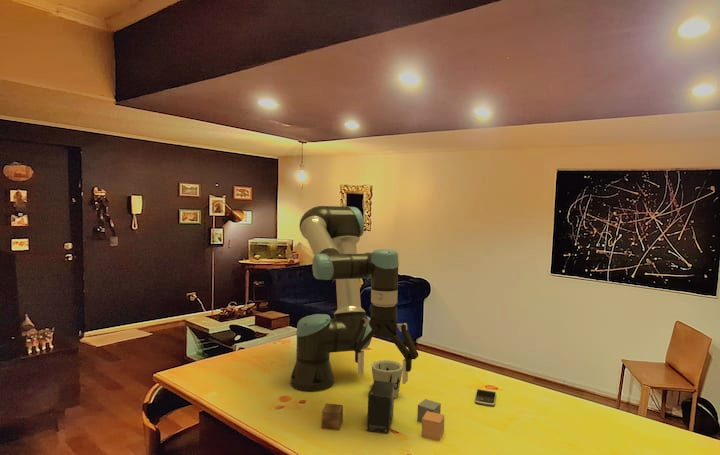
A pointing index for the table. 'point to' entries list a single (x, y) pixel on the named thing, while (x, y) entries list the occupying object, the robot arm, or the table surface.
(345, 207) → the robot arm
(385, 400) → the small box
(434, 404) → the slate cube
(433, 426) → the terracotta cube
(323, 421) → the walnut cube
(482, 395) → the cell phone
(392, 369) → the mug
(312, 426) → the table surface
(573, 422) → the table surface
